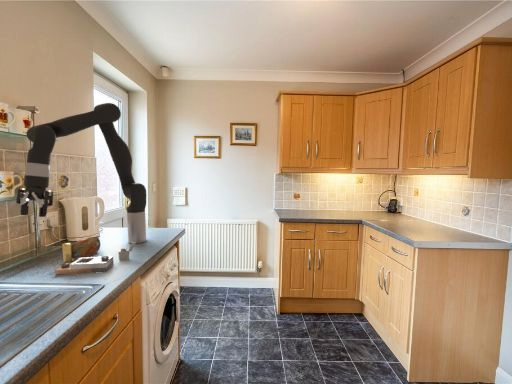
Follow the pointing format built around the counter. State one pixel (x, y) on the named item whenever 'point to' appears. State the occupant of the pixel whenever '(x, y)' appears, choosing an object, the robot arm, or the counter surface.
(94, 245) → the tin
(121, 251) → the lighter
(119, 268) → the counter surface
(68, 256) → the pin
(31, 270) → the counter surface
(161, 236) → the counter surface
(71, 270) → the door latch
